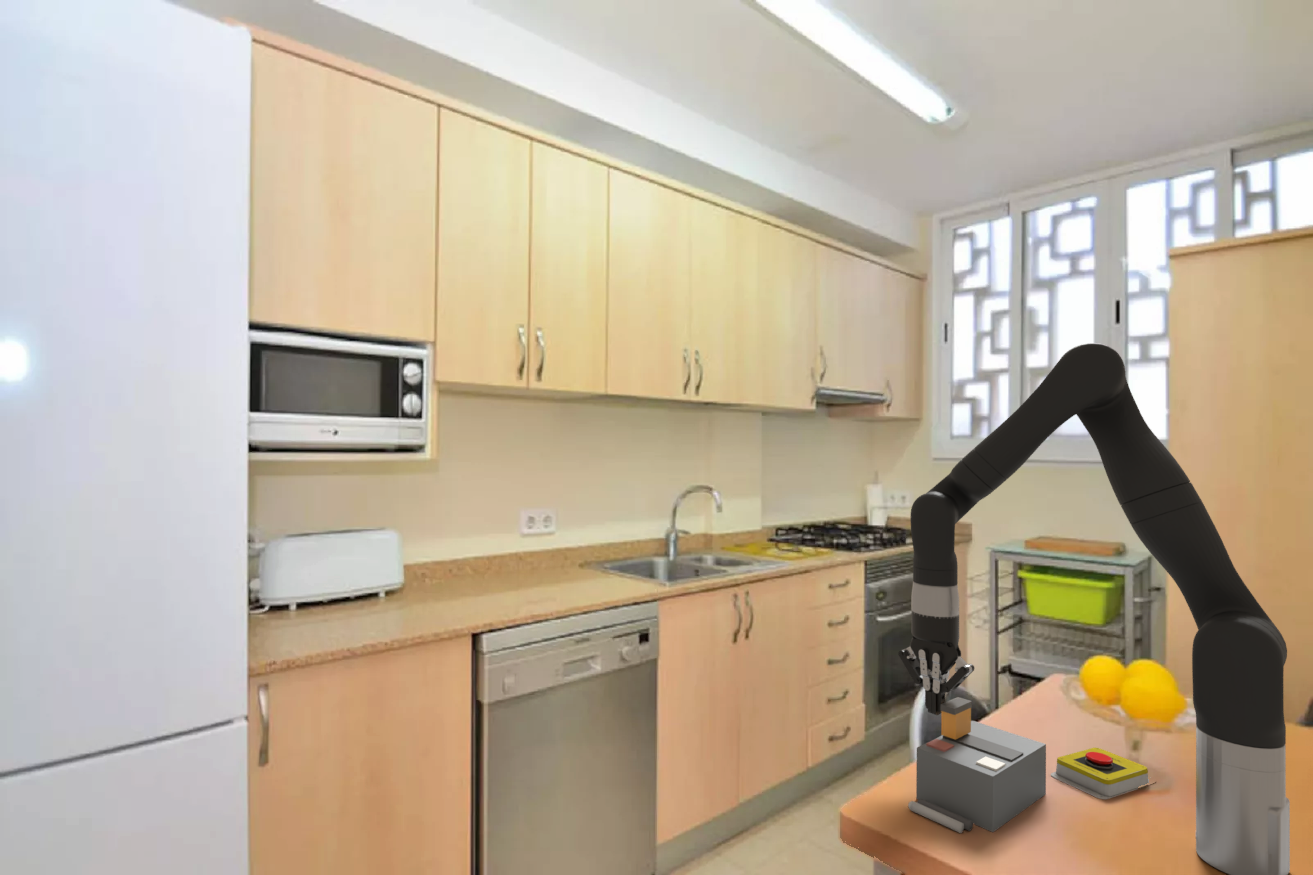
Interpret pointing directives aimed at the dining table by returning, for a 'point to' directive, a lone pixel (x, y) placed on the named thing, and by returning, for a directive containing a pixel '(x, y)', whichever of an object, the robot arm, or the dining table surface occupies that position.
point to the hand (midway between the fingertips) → (935, 712)
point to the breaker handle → (956, 718)
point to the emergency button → (1100, 773)
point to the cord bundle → (941, 815)
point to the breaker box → (982, 774)
